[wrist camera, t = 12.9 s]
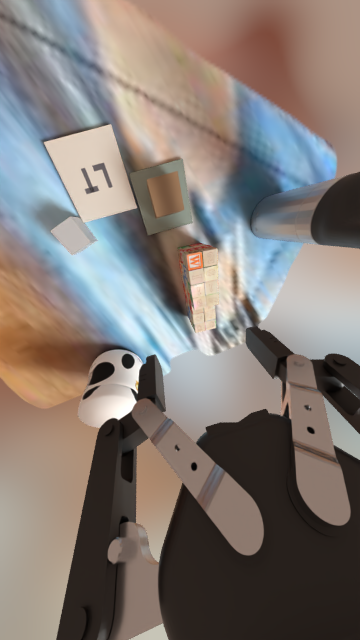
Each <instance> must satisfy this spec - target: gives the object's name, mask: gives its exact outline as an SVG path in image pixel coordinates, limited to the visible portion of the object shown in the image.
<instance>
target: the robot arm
mask: <svg viewBox="0 0 360 640" xmlns="http://www.w3.org/2000/svg"><path fill="white" fill-rule="evenodd" d="M251 228H252V231H253V233H254V235H255V236H257V237H258V238H262V239H270V240H280V241H289V242H299V243H309V244H319V245H328V246H340V247H351V248H359V249H360V172H358V173H354V174H350V175H346V176H343V177H339V178H335V179H331V180H328V181H324V182H320V183H316V184H312V185H308V186H305V187H301V188H297V189H293V190H289V191H285V192H281V193H278V194H274V195H270V196H267V197H266V198H264V199H263V200H261V201H260V203H259V204H258V205H257V206H256V208H255V210H254V212H253V215H252V219H251ZM246 344H247V347H248V349H249V350H250V351H251V352H252V353H253V355H254V356H255V357H256V358H257V359H258V361H259V362H260V363H261V365H262V366H263V367H264V368H265V369H266V371H267V372H268V373H269V374H270V375H271V377H272V378H273V379H277V378H280V380H281V412H280V415H277V414H272V413H268V411H267V410H266V409H263V410H260V411H257V412H253V413H251V414H249V415H248V416H247V417H245V418H244V419H242V420H241V421H239V422H236V423H217V424H214V425H211V426H208V427H206V431H207V432H205V433H204V434H203V435H202V436H201V437H200V438H199V439H198V441H197V442H196V443H195V442H194V441H193V440H192V439H191V438H190V437H189V436H188V435H187V434H186V433H185V432H184V431H183V430H182V429H181V428H180V427H179V426H177V424H176V423H175V422H173V421H172V420H171V419H168V418H167V417H166V416H165V415H164V414H163V413H162V412H165V411H166V407H165V396H164V385H163V374H162V368H161V365H160V363H159V361H158V359H157V356H156V355H151V356H148V357H147V358H146V364H143V365H142V366H141V368H140V370H139V380H138V381H139V382H138V394H137V402H136V404H135V405H134V407H133V409H132V411H131V412H129V413H128V414H127V415H125V416H124V417H122V418H120V419H119V420H118V419H117V418H111V419H109V420H107V421H106V422H105V423H104V424H103V425H102V426H101V427H100V429H99V432H98V435H97V440H96V445H95V450H94V455H93V460H92V465H91V470H90V475H89V480H88V485H87V490H86V495H85V500H84V505H83V510H82V515H81V520H80V524H79V529H78V534H77V540H76V544H75V549H74V555H73V560H72V564H71V569H70V574H69V580H68V584H67V589H66V594H65V599H64V604H63V609H62V614H61V619H60V624H59V629H58V634H57V639H56V640H129V639H131V638H133V637H135V636H137V635H139V634H141V633H143V632H145V631H147V630H149V629H152V628H154V627H156V626H158V625H160V624H162V623H163V624H164V627H165V630H166V633H167V636H168V639H169V640H360V460H358V459H357V458H355V457H353V456H352V455H350V454H348V453H346V452H344V451H343V450H341V449H340V448H338V447H336V446H334V445H333V441H332V437H331V432H330V427H329V423H328V418H327V413H326V409H325V404H324V399H323V396H324V397H325V398H326V399H327V400H328V401H329V402H330V403H331V404H332V405H333V407H335V409H337V411H338V412H339V413H340V414H341V415H342V416H343V417H344V418H345V419H346V420H347V421H348V422H349V423H350V424H351V425H352V426H353V427H354V429H355V430H356V431H357V432H358V433H359V434H360V366H359V365H358V364H356V363H355V362H354V361H352V360H351V359H349V358H348V357H346V356H343V355H339V354H328V355H326V357H325V359H323V360H309V359H308V358H306V357H304V356H302V355H297V354H294V353H293V352H291V351H290V350H289V349H288V348H287V347H286V346H285V345H284V344H282V343H281V342H280V341H279V340H278V339H277V338H275V337H274V336H273V335H272V334H271V333H270V332H267V331H265V330H260V329H259V328H258V327H257V326H253V327H250V328H247V329H246ZM345 386H346V387H347V388H348V389H349V390H348V389H347V388H346V387H345ZM353 393H354V394H355V395H356V396H357V397H356V396H355V395H354V394H353ZM148 438H150V440H151V441H152V443H153V444H154V446H156V448H157V449H158V451H159V452H160V453H161V455H162V456H163V457H164V459H165V460H166V461H167V463H168V464H169V465H170V466H171V468H172V469H173V470H174V472H175V473H176V474H177V475H178V477H179V478H180V479H181V480H182V482H183V483H182V486H181V489H180V492H179V496H178V499H177V502H176V505H175V508H174V512H173V515H172V518H171V521H170V524H169V528H168V531H167V534H166V537H165V540H164V544H163V547H162V551H161V556H160V561H159V562H157V561H156V560H155V559H154V558H153V556H152V555H151V552H150V549H149V543H148V536H147V533H146V530H145V528H144V527H143V526H142V525H140V524H137V523H136V459H137V457H136V456H137V446H138V445H140V444H141V443H143V442H144V441H145V440H147V439H148Z"/></svg>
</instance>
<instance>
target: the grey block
mask: <svg viewBox="0 0 360 640" xmlns="http://www.w3.org/2000/svg"><path fill="white" fill-rule="evenodd" d="M50 232H51V233H52V234H53V235H54V236H55V237H56V238H57V239H58V240H59V242H60V243H61V244H62V245H63V246H64V247H65V248H66V249H67V250H68V252H69V253H70V254H71V255H74V254H77V253H80V252H82V251H83V250H85V249H86V248H88V247H89V246H91V245H92V244H94V243H95V242H97V241H98V240H97V239H96V237H95V236H94V235H93V233H92V232H91V231H90V230H89V228H88V227H87V226H86V224H85V223H83V221H82V219H81V218H79V217H71V216H70V217H69V218H67V219H66V220H65V221H63V222H62V223H60V224H59V225H58V226H56V227H55V228H54V229H52V230H51V231H50Z"/></svg>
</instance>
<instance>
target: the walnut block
mask: <svg viewBox="0 0 360 640" xmlns="http://www.w3.org/2000/svg"><path fill="white" fill-rule="evenodd" d="M147 188H148V192H149V195H150V199H151V203H152V207H153V210H154V214H155V218H156V219H157V218H160V217H164V216H167V215H171V214H174V213H178V212H181V211H183V210H184V204H183V198H182V193H181V187H180V182H179V176H178V171H175V172H172V173H168V174H165V175H161V176H158V177H154V178H150V179H147Z"/></svg>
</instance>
